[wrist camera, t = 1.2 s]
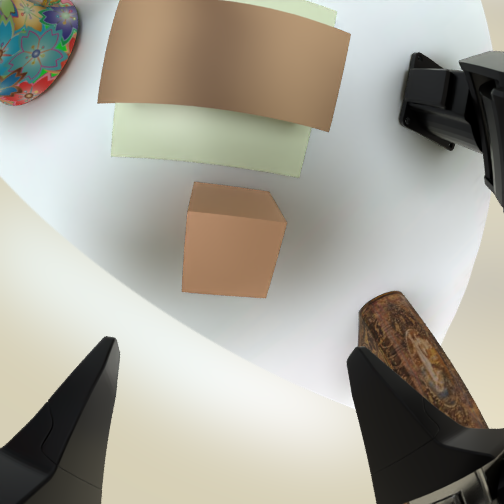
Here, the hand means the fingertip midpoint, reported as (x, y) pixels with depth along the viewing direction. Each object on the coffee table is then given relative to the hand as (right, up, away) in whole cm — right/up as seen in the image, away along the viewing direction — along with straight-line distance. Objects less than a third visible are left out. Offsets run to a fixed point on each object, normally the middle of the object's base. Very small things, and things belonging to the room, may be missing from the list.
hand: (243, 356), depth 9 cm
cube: (-1, +6, +10) cm, 11 cm away
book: (+16, -7, +20) cm, 27 cm away
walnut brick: (-1, +14, +4) cm, 15 cm away
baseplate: (-2, +14, +4) cm, 15 cm away
